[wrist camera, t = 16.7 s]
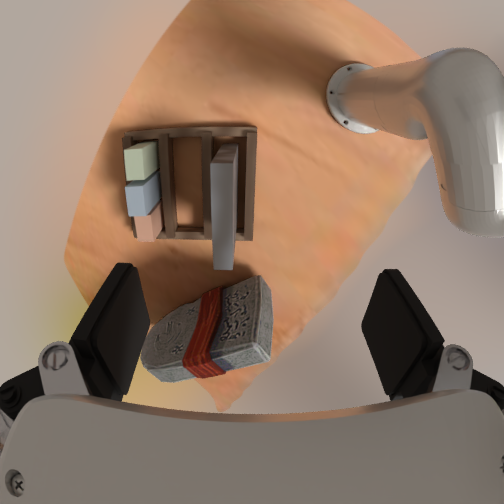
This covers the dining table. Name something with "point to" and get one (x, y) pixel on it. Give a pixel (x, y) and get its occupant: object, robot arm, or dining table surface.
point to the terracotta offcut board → (150, 223)
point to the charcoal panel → (224, 205)
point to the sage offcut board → (141, 160)
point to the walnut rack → (168, 184)
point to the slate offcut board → (143, 194)
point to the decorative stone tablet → (212, 334)
